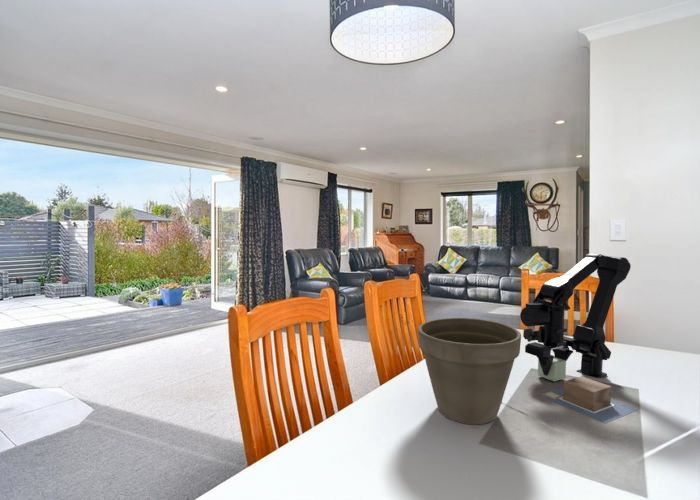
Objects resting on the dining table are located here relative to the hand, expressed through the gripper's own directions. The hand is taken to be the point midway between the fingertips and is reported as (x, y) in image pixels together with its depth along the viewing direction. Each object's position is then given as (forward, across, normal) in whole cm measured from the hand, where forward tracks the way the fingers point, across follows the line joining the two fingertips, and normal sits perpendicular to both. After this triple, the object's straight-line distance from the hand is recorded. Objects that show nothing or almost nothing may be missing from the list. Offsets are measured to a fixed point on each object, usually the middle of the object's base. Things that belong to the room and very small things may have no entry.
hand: (551, 373), depth 123 cm
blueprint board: (+2, +7, +15) cm, 17 cm away
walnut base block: (+2, +7, +15) cm, 17 cm away
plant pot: (+2, +39, +3) cm, 39 cm away
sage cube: (+1, 0, 0) cm, 1 cm away
